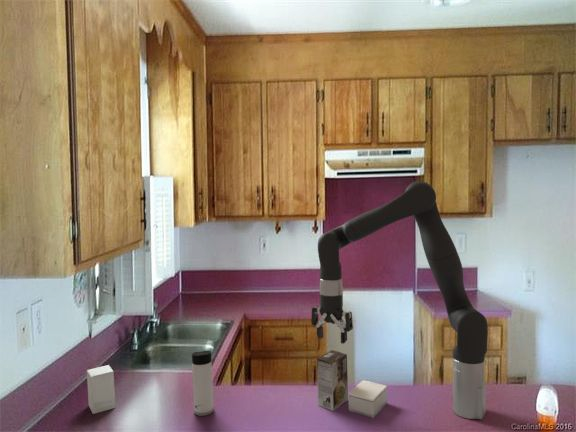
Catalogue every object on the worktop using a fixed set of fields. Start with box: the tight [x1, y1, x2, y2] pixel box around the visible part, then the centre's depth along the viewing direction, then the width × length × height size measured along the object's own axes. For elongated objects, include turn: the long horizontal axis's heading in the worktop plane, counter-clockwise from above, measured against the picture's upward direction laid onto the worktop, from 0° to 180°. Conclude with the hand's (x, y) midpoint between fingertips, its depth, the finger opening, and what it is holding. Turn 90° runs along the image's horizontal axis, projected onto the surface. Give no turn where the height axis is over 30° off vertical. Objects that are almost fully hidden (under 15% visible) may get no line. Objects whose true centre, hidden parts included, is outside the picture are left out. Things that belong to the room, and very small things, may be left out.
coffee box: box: [316, 349, 349, 412], centre depth 147 cm, size 9×6×16 cm
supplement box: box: [86, 364, 116, 415], centre depth 149 cm, size 7×7×13 cm
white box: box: [348, 388, 388, 419], centre depth 144 cm, size 8×11×5 cm
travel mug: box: [191, 350, 214, 417], centre depth 143 cm, size 6×7×20 cm
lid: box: [348, 379, 388, 401], centre depth 143 cm, size 8×11×1 cm
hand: (331, 340), depth 146 cm, fingers open, 8 cm apart
